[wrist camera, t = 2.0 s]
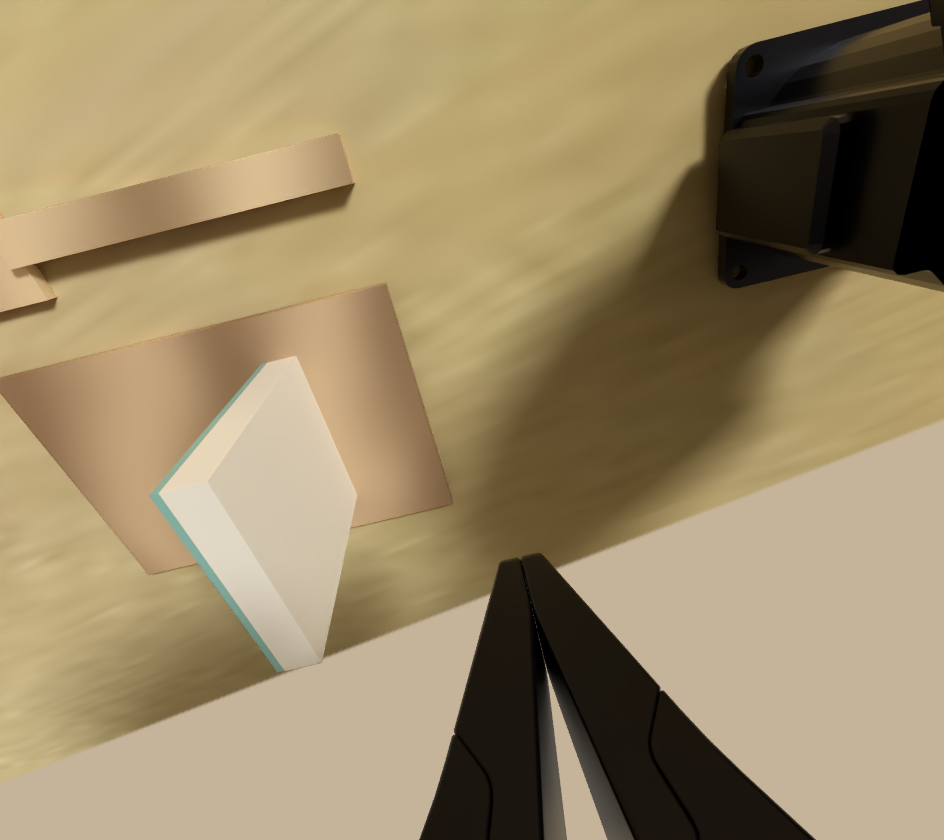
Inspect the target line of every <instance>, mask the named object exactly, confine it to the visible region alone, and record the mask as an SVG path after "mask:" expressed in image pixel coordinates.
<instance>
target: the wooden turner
mask: <svg viewBox="0 0 944 840" xmlns="http://www.w3.org/2000/svg"><path fill="white" fill-rule="evenodd" d="M353 183H355V180H354V177H353V173H352V170H351V167H350V164H349V160H348V157H347V154H346V151H345V147H344V144H343V141H342V138H341V135H339V134H333V135H329V136H325V137H321V138H317V139H313V140H309V141H305V142H301V143H298V144H294V145H290V146H286V147H282V148H278V149H274V150H270V151H266V152H262V153H258V154H255V155H251V156H247V157H243V158H239V159H235V160H231V161H227V162H223V163H219V164H215V165H212V166H208V167H204V168H200V169H196V170H192V171H188V172H184V173H180V174H176V175H172V176H169V177H165V178H161V179H157V180H153V181H149V182H145V183H141V184H137V185H133V186H129V187H126V188H122V189H118V190H114V191H110V192H106V193H102V194H98V195H94V196H90V197H86V198H83V199H79V200H75V201H71V202H67V203H63V204H59V205H55V206H51V207H47V208H44V209H40V210H36V211H32V212H28V213H24V214H20V215H16V216H12V217H8V218H4V216H3V215H2V213H1V212H0V312H3V311H7V310H11V309H15V308H19V307H23V306H27V305H31V304H35V303H39V302H43V301H47V300H50V299H53V298H56V297H57V296H56V294H55V293H54V291H53V290H52V288H51V287H50V285H49V284H48V282H47V281H46V279H45V278H44V276H43V275H42V273H41V272H40V270H39V269H38V267H37V266H36V263H40V262H44V261H48V260H52V259H56V258H60V257H64V256H68V255H72V254H76V253H80V252H84V251H87V250H91V249H95V248H99V247H103V246H107V245H111V244H115V243H119V242H123V241H127V240H131V239H135V238H139V237H143V236H147V235H151V234H155V233H159V232H163V231H167V230H171V229H175V228H178V227H182V226H186V225H190V224H194V223H198V222H202V221H206V220H210V219H214V218H218V217H222V216H226V215H230V214H234V213H238V212H242V211H246V210H250V209H254V208H258V207H262V206H266V205H269V204H273V203H277V202H281V201H285V200H289V199H293V198H297V197H301V196H305V195H309V194H313V193H317V192H321V191H325V190H329V189H333V188H337V187H341V186H345V185H349V184H353Z"/></svg>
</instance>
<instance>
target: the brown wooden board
mask: <svg viewBox="0 0 944 840" xmlns="http://www.w3.org/2000/svg"><path fill="white" fill-rule="evenodd" d="M293 356H297V359H298V361H299V363H300V365H301V368H302V370H303V372H304V375H305V377H306V379H307V381H308V384H309V386H310V388H311V391H312V393H313V395H314V397H315V400H316V402H317V404H318V407H319V409H320V411H321V413H322V416H323V418H324V420H325V423H326V425H327V427H328V429H329V432H330V434H331V436H332V439H333V441H334V443H335V445H336V448H337V450H338V452H339V455H340V457H341V459H342V461H343V464H344V466H345V468H346V471H347V473H348V475H349V477H350V480H351V482H352V484H353V487H354V489H355V491H356V493H357V499H356V504H355V509H354V513H353V518H352V523H351V528H352V527H356V526H361V525H365V524H369V523H373V522H378V521H382V520H386V519H391V518H395V517H399V516H404V515H408V514H412V513H417V512H421V511H425V510H429V509H434V508H438V507H442V506H447V505H451V504H453V503H452V496H451V493H450V490H449V486H448V483H447V480H446V477H445V473H444V470H443V467H442V464H441V460H440V457H439V454H438V451H437V447H436V444H435V441H434V438H433V434H432V431H431V428H430V425H429V421H428V418H427V415H426V412H425V408H424V405H423V402H422V399H421V395H420V392H419V389H418V386H417V382H416V379H415V376H414V373H413V369H412V366H411V363H410V360H409V356H408V353H407V350H406V346H405V343H404V340H403V337H402V333H401V330H400V327H399V324H398V320H397V317H396V314H395V311H394V307H393V304H392V301H391V298H390V294H389V291H388V288H387V285H386V283H382V284H378V285H374V286H370V287H366V288H362V289H358V290H354V291H350V292H346V293H342V294H338V295H333V296H329V297H325V298H321V299H317V300H313V301H309V302H305V303H301V304H297V305H293V306H289V307H285V308H281V309H277V310H273V311H269V312H264V313H260V314H256V315H252V316H248V317H244V318H240V319H236V320H232V321H228V322H224V323H220V324H216V325H212V326H208V327H204V328H200V329H196V330H191V331H187V332H183V333H179V334H175V335H171V336H167V337H163V338H159V339H155V340H151V341H147V342H143V343H139V344H135V345H131V346H127V347H122V348H118V349H114V350H110V351H106V352H102V353H98V354H94V355H90V356H86V357H82V358H78V359H74V360H70V361H66V362H62V363H58V364H54V365H49V366H45V367H41V368H37V369H33V370H29V371H25V372H21V373H17V374H13V375H9V376H5V377H1V378H0V393H1V395H2V396H3V397H4V398H5V400H6V401H7V402H8V403H9V404H10V406H11V407H12V408H13V409H14V411H15V412H16V413H17V414H18V415H19V417H20V418H21V419H22V420H23V422H24V423H25V424H26V425H27V426H28V428H29V429H30V430H31V431H32V433H33V434H34V435H35V436H36V438H37V439H38V440H39V441H40V442H41V444H42V445H43V446H44V447H45V449H46V450H47V451H48V452H49V453H50V455H51V456H52V457H53V458H54V460H55V461H56V462H57V463H58V464H59V466H60V467H61V468H62V469H63V471H64V472H65V473H66V474H67V475H68V477H69V478H70V479H71V480H72V482H73V483H74V484H75V485H76V487H77V488H78V489H79V490H80V491H81V493H82V494H83V495H84V496H85V498H86V499H87V500H88V501H89V502H90V504H91V505H92V506H93V507H94V509H95V510H96V511H97V512H98V513H99V515H100V516H101V517H102V518H103V520H104V521H105V522H106V523H107V524H108V526H109V527H110V528H111V529H112V531H113V532H114V533H115V534H116V536H117V537H118V538H119V539H120V540H121V542H122V543H123V544H124V545H125V547H126V548H127V549H128V550H129V551H130V553H131V554H132V555H133V556H134V558H135V559H136V560H137V561H138V562H139V564H140V565H141V566H142V567H143V569H144V570H145V571H146V572H147V573H148V575H150V574H154V573H158V572H163V571H167V570H171V569H176V568H180V567H184V566H188V565H193V564H197V561H196V560H195V559H194V557H193V556H192V555H191V553H190V552H189V550H188V549H187V548H186V546H185V545H184V544H183V542H182V541H181V539H180V538H179V537H178V535H177V534H176V533H175V531H174V530H173V528H172V527H171V526H170V524H169V523H168V522H167V520H166V519H165V517H164V516H163V515H162V513H161V512H160V511H159V509H158V508H157V506H156V505H155V504H154V502H153V501H152V499H151V498H150V497H149V495H150V493H151V492H152V491H153V490H154V489H155V488H156V486H157V485H158V484H159V483H160V482H161V481H162V479H163V478H164V477H165V476H166V475H167V474H168V472H169V471H170V470H171V469H172V468H173V467H174V465H175V464H176V463H177V462H178V461H179V460H180V458H181V457H182V456H183V455H184V454H185V453H186V451H187V450H188V449H189V448H190V447H191V446H192V444H193V443H194V442H195V441H196V440H197V439H198V437H199V436H200V435H201V434H202V433H203V432H204V430H205V429H206V428H207V427H208V426H209V425H210V423H211V422H212V421H213V420H214V419H215V418H216V416H217V415H218V414H219V413H220V412H221V411H222V409H223V408H224V407H225V406H226V405H227V404H228V402H229V401H230V400H231V399H232V398H233V397H234V395H235V394H236V393H237V392H238V391H239V390H240V388H241V387H242V386H243V385H244V384H245V383H246V381H247V380H248V379H249V378H250V377H251V376H252V374H253V373H254V372H255V371H256V370H257V369H258V367H259V366H260V365H261V364H264V363H268V362H272V361H276V360H280V359H284V358H289V357H293Z"/></svg>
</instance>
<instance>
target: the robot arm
mask: <svg viewBox="0 0 944 840" xmlns="http://www.w3.org/2000/svg"><path fill="white" fill-rule="evenodd" d="M749 58H751V59H752V60H753V61H754V70H753V73H752V74H751V76H750V77H748V76H747V75H746V74H745V65H746V62H747V60H748V59H749ZM716 230H717V231H718V232H719V233H720V234H719V256H718V280H719V281H720V282H721V284H724V285H726V286H728V287H731V288H741V287H745V286H749V285H753V284H757V283H761V282H766V281H770V280H774V279H778V278H782V277H786V276H790V275H795V274H799V273H803V272H807V271H811V270H815V269H819V268H824V267H828V266H833V267H837V268H842V269H846V270H850V271H855V272H859V273H863V274H868V275H872V276H876V277H881V278H885V279H889V280H894V281H898V282H902V283H907V284H911V285H915V286H920V287H924V288H928V289H933V290H937V291H941V292H944V0H921V1H917V2H913V3H909V4H905V5H901V6H898V7H894V8H890V9H886V10H882V11H878V12H874V13H870V14H866V15H862V16H858V17H854V18H850V19H847V20H843V21H839V22H835V23H831V24H827V25H823V26H819V27H815V28H811V29H807V30H803V31H800V32H796V33H792V34H788V35H784V36H780V37H776V38H772V39H768V40H764V41H760V42H756V43H754V44H751V45H749V46H746V47H744V48H742V49H740V50H739V51H738V52H737V53H736V54H735V55H734V56H733V58H732V59H731V61H730V63H729V66H728V71H727V85H726V106H725V128H724V137H723V138H722V140H721V142H720V145H719V169H718V192H717V215H716ZM737 266H740V271H739V273H738V274H737V276H736V277H734V278H732V272H733V270H734V269H735V268H736V267H737ZM521 562H522V564H521ZM522 567H523V568H522ZM523 571H524V572H523ZM524 575H525V576H524ZM526 584H527V585H526ZM527 588H528V589H527ZM531 605H532V606H531ZM532 609H533V610H532ZM534 618H535V619H534ZM535 622H536V623H535ZM536 626H537V627H536ZM538 635H539V636H538ZM539 639H540V640H539ZM540 643H541V644H540ZM541 648H542V649H541ZM542 652H543V653H542ZM543 656H544V657H543ZM544 660H545V662H544ZM545 664H546V667H545ZM546 668H547V671H548V674H549V677H550V680H551V683H552V686H553V689H554V692H555V695H556V697H557V700H558V703H559V706H560V709H561V711H562V714H563V717H564V720H565V723H566V725H567V728H568V731H569V734H570V736H571V739H572V742H573V745H574V748H575V750H576V753H577V756H578V758H579V761H580V764H581V767H582V770H583V773H584V775H585V778H586V781H587V784H588V787H589V789H590V792H591V795H592V798H593V800H594V803H595V806H596V809H597V811H598V814H599V817H600V820H601V823H602V825H603V828H604V831H605V834H606V837H607V839H608V840H816V839H814V838H813V837H812V836H811V835H810V834H809V833H808V832H807V831H806V830H805V829H803V828H802V827H801V826H800V825H799V824H798V823H797V822H796V821H795V820H794V819H793V818H792V817H791V816H790V815H788V814H787V813H786V812H785V811H784V810H783V809H782V808H781V807H780V806H779V805H778V804H776V803H775V802H774V801H773V800H772V799H771V798H770V797H769V796H768V795H767V794H766V793H765V792H763V791H762V790H761V789H760V788H759V787H758V786H757V785H756V784H755V783H754V782H753V781H752V780H750V779H749V778H748V777H747V776H746V775H745V774H744V773H743V772H742V771H741V770H740V769H739V768H738V767H737V766H736V765H735V764H734V763H733V762H732V761H731V760H730V759H728V758H727V757H726V756H725V755H724V754H723V753H722V752H721V751H720V750H719V749H718V748H717V747H716V746H715V745H714V744H713V743H712V742H711V741H710V740H709V739H708V738H707V737H706V736H705V735H704V734H703V733H702V732H701V731H700V730H699V728H698V727H697V726H696V725H695V724H694V723H693V722H692V721H691V720H690V719H689V718H688V717H687V716H686V715H685V714H684V713H683V711H682V710H680V708H679V707H678V706H677V705H676V704H675V703H674V701H673V700H672V699H671V698H670V697H669V696H668V695H667V694H666V692H665V691H661V690H660V686H659V685H658V684H657V683H656V682H655V680H654V679H653V678H652V677H651V676H650V675H649V674H648V673H647V671H646V670H645V669H644V668H643V667H642V666H641V665H640V664H639V663H638V661H637V660H636V659H635V658H634V657H633V656H632V655H631V653H630V652H629V651H628V650H627V649H626V648H625V647H624V646H623V644H622V643H621V642H620V641H619V640H618V639H617V638H616V637H615V635H614V634H613V633H612V632H611V631H610V630H609V629H608V628H607V626H606V625H605V624H604V623H603V622H602V621H601V620H600V619H599V618H598V616H597V615H596V614H595V613H594V612H593V611H592V610H591V609H590V607H589V606H588V605H587V604H586V603H585V602H584V601H583V600H582V598H581V597H580V596H579V595H578V594H577V593H576V592H575V590H574V589H573V588H572V587H571V586H570V585H569V584H568V583H567V582H566V580H565V579H564V578H563V577H562V576H561V575H560V574H559V573H558V571H557V570H556V569H555V568H554V567H553V566H552V565H551V564H550V562H549V561H548V560H547V559H546V558H545V557H544V556H543V555H542V554H541V553H535V554H530V555H526V556H523V557H522V558H521V560H520V559H519V558H513V559H508V560H504V561H501V562H500V564H499V566H498V569H497V573H496V577H495V581H494V584H493V588H492V592H491V595H490V599H489V603H488V606H487V610H486V614H485V618H484V621H483V625H482V629H481V632H480V636H479V640H478V644H477V647H476V651H475V655H474V658H473V662H472V666H471V669H470V673H469V677H468V681H467V684H466V688H465V692H464V695H463V699H462V703H461V706H460V710H459V714H458V717H457V721H456V725H455V728H454V733H455V735H453V736H452V739H451V743H450V746H449V750H448V753H447V757H446V761H445V764H444V767H443V771H442V774H441V777H440V781H439V784H438V787H437V791H436V794H435V797H434V800H433V803H432V806H431V808H430V811H429V814H428V817H427V820H426V823H425V825H424V828H423V831H422V834H421V837H420V839H419V840H567V837H566V828H565V820H564V811H563V803H562V795H561V786H560V778H559V769H558V761H557V754H556V753H557V752H556V745H555V736H554V728H553V720H552V710H551V703H550V694H549V686H548V678H547V672H546Z"/></svg>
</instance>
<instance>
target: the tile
mask: <svg viewBox="0 0 944 840" xmlns="http://www.w3.org/2000/svg"><path fill="white" fill-rule="evenodd" d="M149 497H150V498H151V499H152V501H153V502H154V504H155V505H156V506H157V508H158V509H159V511H160V512H161V513H162V515H163V516H164V517H165V519H166V520H167V522H168V523H169V524H170V526H171V527H172V528H173V530H174V531H175V533H176V534H177V535H178V537H179V538H180V539H181V541H182V542H183V544H184V545H185V546H186V548H187V549H188V550H189V552H190V553H191V555H192V556H193V557H194V559H195V560H196V561H197V563H198V564H199V566H200V567H201V568H202V570H203V571H204V572H205V574H206V575H207V577H208V578H209V579H210V581H211V582H212V583H213V585H214V586H215V588H216V589H217V590H218V592H219V593H220V594H221V596H222V597H223V599H224V600H225V601H226V603H227V604H228V605H229V607H230V608H231V610H232V611H233V612H234V614H235V615H236V616H237V618H238V619H239V621H240V622H241V623H242V625H243V626H244V627H245V629H246V630H247V632H248V633H249V634H250V636H251V637H252V639H253V640H254V641H255V643H256V644H257V645H258V647H259V648H260V650H261V651H262V652H263V654H264V655H265V656H266V658H267V659H268V661H269V662H270V663H271V665H272V666H273V667H274V669H275V670H276V672H277V673H279V672H283V671H288V670H292V669H297V668H301V667H306V666H310V665H315V664H319V663H322V660H323V655H324V651H325V646H326V641H327V637H328V632H329V627H330V622H331V618H332V613H333V608H334V603H335V599H336V594H337V589H338V584H339V580H340V575H341V570H342V565H343V561H344V556H345V551H346V547H347V542H348V537H349V532H350V528H351V523H352V518H353V513H354V509H355V504H356V499H357V493H356V491H355V489H354V487H353V484H352V482H351V480H350V477H349V475H348V473H347V471H346V468H345V466H344V464H343V461H342V459H341V457H340V455H339V452H338V450H337V448H336V445H335V443H334V441H333V439H332V436H331V434H330V432H329V429H328V427H327V425H326V423H325V420H324V418H323V416H322V413H321V411H320V409H319V407H318V404H317V402H316V400H315V397H314V395H313V393H312V391H311V388H310V386H309V384H308V381H307V379H306V377H305V375H304V372H303V370H302V368H301V365H300V363H299V361H298V359H297V356H293V357H289V358H284V359H280V360H276V361H272V362H268V363H264V364H261V365H260V366H259V367H258V369H257V370H256V371H255V372H254V373H253V374H252V376H251V377H250V378H249V379H248V380H247V381H246V383H245V384H244V385H243V386H242V387H241V388H240V390H239V391H238V392H237V393H236V394H235V395H234V397H233V398H232V399H231V400H230V401H229V402H228V404H227V405H226V406H225V407H224V408H223V409H222V411H221V412H220V413H219V414H218V415H217V416H216V418H215V419H214V420H213V421H212V422H211V423H210V425H209V426H208V427H207V428H206V429H205V430H204V432H203V433H202V434H201V435H200V436H199V437H198V439H197V440H196V441H195V442H194V443H193V444H192V446H191V447H190V448H189V449H188V450H187V451H186V453H185V454H184V455H183V456H182V457H181V458H180V460H179V461H178V462H177V463H176V464H175V465H174V467H173V468H172V469H171V470H170V471H169V472H168V474H167V475H166V476H165V477H164V478H163V479H162V481H161V482H160V483H159V484H158V485H157V486H156V488H155V489H154V490H153V491H152V492H151V493H150V495H149Z"/></svg>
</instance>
